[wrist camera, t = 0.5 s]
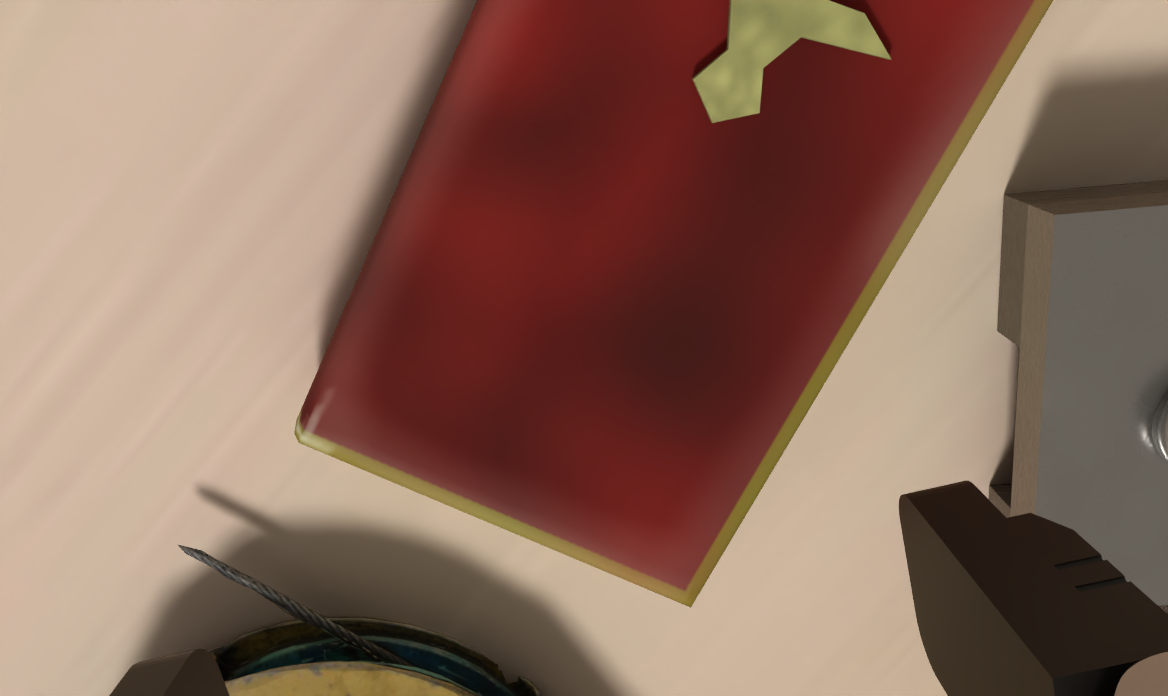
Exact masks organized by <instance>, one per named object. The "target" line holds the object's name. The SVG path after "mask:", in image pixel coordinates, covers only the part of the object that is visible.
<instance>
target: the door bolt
mask: <svg viewBox="0 0 1168 696" xmlns="http://www.w3.org/2000/svg"><path fill="white" fill-rule="evenodd" d="M997 331H998V332H999V333H1001V334H1002V335H1004V336H1005V337H1006V338H1008V339H1009V340H1010V341H1012V342H1013V343H1015V344H1016V345H1017V346H1019V347H1020V354H1019V371H1018V388H1017V406H1016V423H1015V440H1014V458H1013V475H1012V484H1003V485H992V486H990V488H989V500H990V502H991V503H992V504H993V505H994V506H995V507H996V508H997V509H998V510H999V511H1000V512H1001V513H1002V514H1003V515H1004V516H1005V517H1006V518H1008V517H1013V516H1017V515H1022V514H1027V513H1033V514H1035V515H1038V516H1040V517H1043V518H1045V519H1048V520H1050V521H1053V522H1055V523H1058V524H1060V525H1063V526H1065V527H1068V528H1070V529H1073V530H1074V531H1075V532H1077V533H1078V534H1079V535H1080V536H1081V537H1082V538H1083V539H1084V540H1085V541H1087V542H1088V543H1089V544H1090V545H1091V546H1092V547H1093V548H1094V549H1095V550H1097V551H1098V552H1099V553H1100V554H1101V556H1102V559H1103V560H1108V561H1109V562H1110V563H1111V564H1112V565H1113V566H1114V567H1115V568H1117V569H1118V570H1119V571H1120V572H1121V573H1122V574H1123V575H1124V576H1125V579H1126V581H1127V582H1130V581H1131V582H1132V583H1133V584H1134V585H1135V586H1137V587H1138V588H1139V589H1140V590H1141V591H1142V592H1143V593H1144V594H1145V595H1147V596H1148V597H1149V598H1150V599H1151V600H1152V601H1153V602H1154V603H1155V604H1157V605H1158V606H1163V605H1168V180H1165V181H1154V182H1142V183H1131V184H1120V185H1108V186H1097V187H1086V188H1074V189H1063V190H1051V191H1040V192H1029V193H1017V194H1006V195H1004V207H1003V227H1002V247H1001V267H1000V287H999V307H998V327H997Z"/></svg>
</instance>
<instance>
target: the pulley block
mask: <svg viewBox="0 0 1168 696" xmlns="http://www.w3.org/2000/svg"><path fill="white" fill-rule="evenodd" d="M178 546H179V547H180V548H181V549H182V550H183V551H184V552H185V553H186V554H188V555H190V556H192V557H194V558H196V559H197V560H199V561H201V562H203V563H205V564H207V565H209V566H211V567H213V568H215V569H216V570H217V571H219V572H220V573H222V574H223V575H224V576H226V577H227V578H229V579H231V580H233V581H236V582H238V583H240V584H242V585H244V586H246V587H249V588H251V589H253V590H255V591H257V592H258V593H260V594H261V595H262V596H264V597H265V598H267V599H269V600H270V601H272V602H274V603H275V604H277V605H278V606H279V607H280V608H281V609H282V610H284V611H285V612H287V613H289V614H290V615H292V616H294V617H295V618H297V619H299V620H297V621H290V622H284V623H281V624H277V625H274V626H271V627H267V628H264V629H261V630H257V631H254V632H250V633H247V634H244V635H242V636H240V637H239V638H237V639H235V640H234V641H232V642H230V643H229V644H227V645H225V646H223V647H221V648H218V649H215V650H212V651H210V652H209V653H210V654H211V655H212V656H213V658H214V659H215V661H216V663H217V665H218V667H219V669H220V672H221V674H222V677H223V680H224V682H225V685H226V687H227V690H228V693H229V695H230V696H542V695H541V693H540V692H539V690H538V689H537V688H536V686H535V685H534V684H533V683H532V682H531V681H529V680H527V679H525V678H522V677H518V681H517V682H514V683H506V681H505V679H504V676H503V674H502V671H500V670H498V665H497V664H495V663H494V662H492V661H491V660H490V659H488V658H487V657H485V656H484V655H482V654H481V653H480V652H478V651H476V650H475V649H473V648H471V647H469V646H468V645H466V644H464V643H461V642H459V641H457V640H455V639H453V638H451V637H448V636H445V635H442V634H439V633H436V632H433V631H430V630H427V629H424V628H420V627H417V626H414V625H409V624H403V623H397V622H390V621H383V620H376V619H369V618H325V617H323V616H321V615H319V614H318V613H316V612H314V611H312V610H310V609H309V608H307V607H305V606H303V605H301V604H299V603H297V602H296V601H294V600H292V599H290V598H288V597H286V596H284V595H282V594H281V593H279V592H277V591H275V590H273V589H271V588H269V587H268V586H266V585H264V584H262V583H260V582H258V581H256V580H254V579H253V578H251V577H249V576H247V575H245V574H243V573H241V572H239V571H237V570H235V569H233V568H231V567H229V566H228V565H226V564H224V563H222V562H220V561H218V560H216V559H214V558H213V557H211V556H210V555H208V554H206V553H205V552H203V551H201V550H197V549H193V548H189V547H185V546H181V545H178Z"/></svg>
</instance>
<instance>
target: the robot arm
mask: <svg viewBox="0 0 1168 696" xmlns="http://www.w3.org/2000/svg"><path fill="white" fill-rule="evenodd" d="M899 515H900V522H901V528H902V534H903V540H904V546H905V552H906V558H907V564H908V570H909V576H910V582H911V588H912V594H913V600H914V606H915V612H916V617H917V623H918V627H919V631H920V635H921V639H922V642H923V645H924V648H925V651H926V654H927V657H928V659H929V662H930V664H931V666H932V669H933V671H934V673H935V675H936V677H937V678H938V680H939V682H940V683H941V685H942V687H943V688H944V690H945V692H946V693H947V695H948V696H1168V614H1167V613H1165V612H1164V611H1163V610H1162V609H1161V608H1160V607H1159V606H1158V605H1157V604H1155V603H1154V602H1153V601H1152V600H1151V599H1150V598H1149V597H1148V596H1147V595H1145V594H1144V593H1143V592H1142V591H1141V590H1140V589H1139V588H1138V587H1137V586H1135V585H1134V584H1133V583H1132V582H1131V581H1130V582H1127V581H1126V579H1125V576H1124V575H1123V574H1122V573H1121V572H1120V571H1119V570H1118V569H1117V568H1115V567H1114V566H1113V565H1112V564H1111V563H1110V562H1109V561H1108V560H1103V559H1102V556H1101V554H1100V553H1099V552H1098V551H1097V550H1095V549H1094V548H1093V547H1092V546H1091V545H1090V544H1089V543H1088V542H1087V541H1085V540H1084V539H1083V538H1082V537H1081V536H1080V535H1079V534H1078V533H1077V532H1075V531H1074V530H1073V529H1070V528H1068V527H1065V526H1063V525H1060V524H1058V523H1055V522H1053V521H1050V520H1048V519H1045V518H1043V517H1040V516H1038V515H1035V514H1033V513H1027V514H1022V515H1017V516H1013V517H1008V518H1006V517H1005V516H1004V515H1003V514H1002V513H1001V512H1000V511H999V510H998V509H997V508H996V507H995V506H994V505H993V504H992V503H991V502H990V500H989V499H988V498H987V497H986V496H985V495H984V494H983V493H982V492H981V491H980V490H979V489H978V488H977V487H976V486H975V485H974V484H972V483H971V482H970V481H962V482H958V483H953V484H949V485H944V486H940V487H935V488H931V489H926V490H922V491H917V492H913V493H908V494H904V495H901V496H900V499H899ZM110 696H230V695H229V693H228V690H227V687H226V685H225V682H224V680H223V677H222V674H221V672H220V669H219V667H218V665H217V663H216V661H215V659H214V658H213V656H212V655H211V654H210V653H209V652H207V651H206V650H204V649H196V650H192V651H187V652H183V653H178V654H174V655H169V656H165V657H160V658H156V659H151V660H147V661H142V662H138V663H136V664H134V665H133V666H132V667H131V668H130V669H129V670H128V672H127V673H126V674H125V676H124V677H123V678H122V680H121V681H120V682H119V684H118V685H117V686H116V688H115V689H114V690H113V692H112V693H111V694H110Z"/></svg>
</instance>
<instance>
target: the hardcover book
mask: <svg viewBox="0 0 1168 696" xmlns="http://www.w3.org/2000/svg"><path fill="white" fill-rule="evenodd" d="M1052 1H1053V0H477V3H476V5H475V7H474V9H473V12H472V14H471V16H470V19H469V21H468V23H467V26H466V28H465V30H464V33H463V35H462V37H461V40H460V42H459V44H458V47H457V49H456V51H455V54H454V56H453V58H452V61H451V63H450V65H449V67H448V70H447V72H446V74H445V77H444V79H443V81H442V84H441V86H440V88H439V91H438V93H437V95H436V98H435V100H434V102H433V105H432V107H431V109H430V112H429V114H428V116H427V119H426V121H425V123H424V126H423V128H422V130H421V132H420V135H419V137H418V139H417V142H416V144H415V146H414V149H413V151H412V153H411V156H410V158H409V160H408V163H407V165H406V167H405V170H404V172H403V174H402V177H401V179H400V181H399V184H398V186H397V188H396V191H395V193H394V195H393V197H392V200H391V202H390V204H389V207H388V209H387V211H386V214H385V216H384V218H383V221H382V223H381V225H380V228H379V230H378V232H377V235H376V237H375V239H374V242H373V244H372V246H371V249H370V251H369V253H368V256H367V258H366V260H365V262H364V265H363V267H362V269H361V272H360V274H359V276H358V279H357V281H356V283H355V286H354V288H353V290H352V293H351V295H350V297H349V300H348V302H347V304H346V307H345V309H344V311H343V314H342V316H341V318H340V321H339V323H338V325H337V327H336V330H335V332H334V334H333V337H332V339H331V341H330V344H329V346H328V348H327V351H326V353H325V355H324V358H323V360H322V362H321V365H320V367H319V369H318V372H317V374H316V376H315V379H314V381H313V383H312V385H311V388H310V390H309V392H308V395H307V397H306V399H305V402H304V404H303V406H302V409H301V411H300V413H299V416H298V418H297V421H296V427H295V436H296V438H297V440H298V442H299V443H301V444H303V445H306V446H308V447H310V448H313V449H315V450H318V451H320V452H322V453H325V454H327V455H329V456H332V457H334V458H337V459H339V460H341V461H344V462H346V463H348V464H351V465H353V466H356V467H358V468H360V469H363V470H365V471H368V472H370V473H372V474H375V475H377V476H379V477H382V478H384V479H387V480H389V481H391V482H394V483H396V484H398V485H401V486H403V487H406V488H408V489H410V490H413V491H415V492H417V493H420V494H422V495H425V496H427V497H429V498H432V499H434V500H437V501H439V502H441V503H444V504H446V505H448V506H451V507H453V508H456V509H458V510H460V511H463V512H465V513H467V514H470V515H472V516H475V517H477V518H479V519H482V520H484V521H486V522H489V523H491V524H494V525H496V526H498V527H501V528H503V529H506V530H508V531H510V532H513V533H515V534H517V535H520V536H522V537H525V538H527V539H529V540H532V541H534V542H536V543H539V544H541V545H544V546H546V547H548V548H551V549H553V550H556V551H558V552H560V553H563V554H565V555H567V556H570V557H572V558H575V559H577V560H579V561H582V562H584V563H586V564H589V565H591V566H594V567H596V568H598V569H601V570H603V571H605V572H608V573H610V574H613V575H615V576H617V577H620V578H622V579H625V580H627V581H629V582H632V583H634V584H636V585H639V586H641V587H644V588H646V589H648V590H651V591H653V592H655V593H658V594H660V595H663V596H665V597H667V598H670V599H672V600H674V601H677V602H679V603H682V604H684V605H686V606H689V607H691V606H692V604H693V603H694V601H695V599H696V598H697V596H698V594H699V593H700V591H701V589H702V588H703V586H704V584H705V583H706V581H707V579H708V578H709V576H710V574H711V573H712V571H713V569H714V568H715V566H716V564H717V563H718V561H719V559H720V557H721V556H722V554H723V552H724V551H725V549H726V547H727V546H728V544H729V542H730V541H731V539H732V537H733V536H734V534H735V532H736V531H737V529H738V527H739V526H740V524H741V522H742V521H743V519H744V517H745V516H746V514H747V512H748V511H749V509H750V507H751V506H752V504H753V502H754V501H755V499H756V497H757V496H758V494H759V492H760V490H761V489H762V487H763V485H764V484H765V482H766V480H767V479H768V477H769V475H770V474H771V472H772V470H773V469H774V467H775V465H776V464H777V462H778V460H779V459H780V457H781V455H782V454H783V452H784V450H785V449H786V447H787V445H788V444H789V442H790V440H791V439H792V437H793V435H794V434H795V432H796V430H797V429H798V427H799V425H800V423H801V422H802V420H803V418H804V417H805V415H806V413H807V412H808V410H809V408H810V407H811V405H812V403H813V402H814V400H815V398H816V397H817V395H818V393H819V392H820V390H821V388H822V387H823V385H824V383H825V382H826V380H827V378H828V377H829V375H830V373H831V372H832V370H833V368H834V367H835V365H836V363H837V362H838V360H839V358H840V356H841V355H842V353H843V351H844V350H845V348H846V346H847V345H848V343H849V341H850V340H851V338H852V336H853V335H854V333H855V331H856V330H857V328H858V326H859V325H860V323H861V321H862V320H863V318H864V316H865V315H866V313H867V311H868V310H869V308H870V306H871V305H872V303H873V301H874V300H875V298H876V296H877V295H878V293H879V291H880V290H881V288H882V286H883V284H884V283H885V281H886V279H887V278H888V276H889V274H890V273H891V271H892V269H893V268H894V266H895V264H896V263H897V261H898V259H899V258H900V256H901V254H902V253H903V251H904V249H905V248H906V246H907V244H908V243H909V241H910V239H911V238H912V236H913V234H914V233H915V231H916V229H917V228H918V226H919V224H920V223H921V221H922V219H923V217H924V216H925V214H926V212H927V211H928V209H929V207H930V206H931V204H932V202H933V201H934V199H935V197H936V196H937V194H938V192H939V191H940V189H941V187H942V186H943V184H944V182H945V181H946V179H947V177H948V176H949V174H950V172H951V171H952V169H953V167H954V166H955V164H956V162H957V161H958V159H959V157H960V156H961V154H962V152H963V150H964V149H965V147H966V145H967V144H968V142H969V140H970V139H971V137H972V135H973V134H974V132H975V130H976V129H977V127H978V125H979V124H980V122H981V120H982V119H983V117H984V115H985V114H986V112H987V110H988V109H989V107H990V105H991V104H992V102H993V100H994V99H995V97H996V95H997V94H998V92H999V90H1000V89H1001V87H1002V85H1003V83H1004V82H1005V80H1006V78H1007V77H1008V75H1009V73H1010V72H1011V70H1012V68H1013V67H1014V65H1015V63H1016V62H1017V60H1018V58H1019V57H1020V55H1021V53H1022V52H1023V50H1024V48H1025V47H1026V45H1027V43H1028V42H1029V40H1030V38H1031V37H1032V35H1033V33H1034V32H1035V30H1036V28H1037V27H1038V25H1039V23H1040V22H1041V20H1042V18H1043V17H1044V15H1045V13H1046V11H1047V10H1048V8H1049V6H1050V5H1051V3H1052Z"/></svg>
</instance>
